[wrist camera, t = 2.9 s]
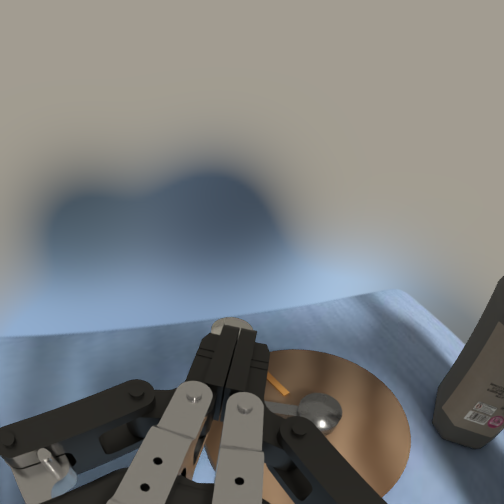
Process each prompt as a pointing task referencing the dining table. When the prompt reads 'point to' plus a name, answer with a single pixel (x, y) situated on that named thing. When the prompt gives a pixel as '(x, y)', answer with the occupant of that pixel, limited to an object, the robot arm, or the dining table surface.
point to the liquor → (476, 383)
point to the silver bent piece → (311, 406)
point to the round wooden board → (351, 423)
